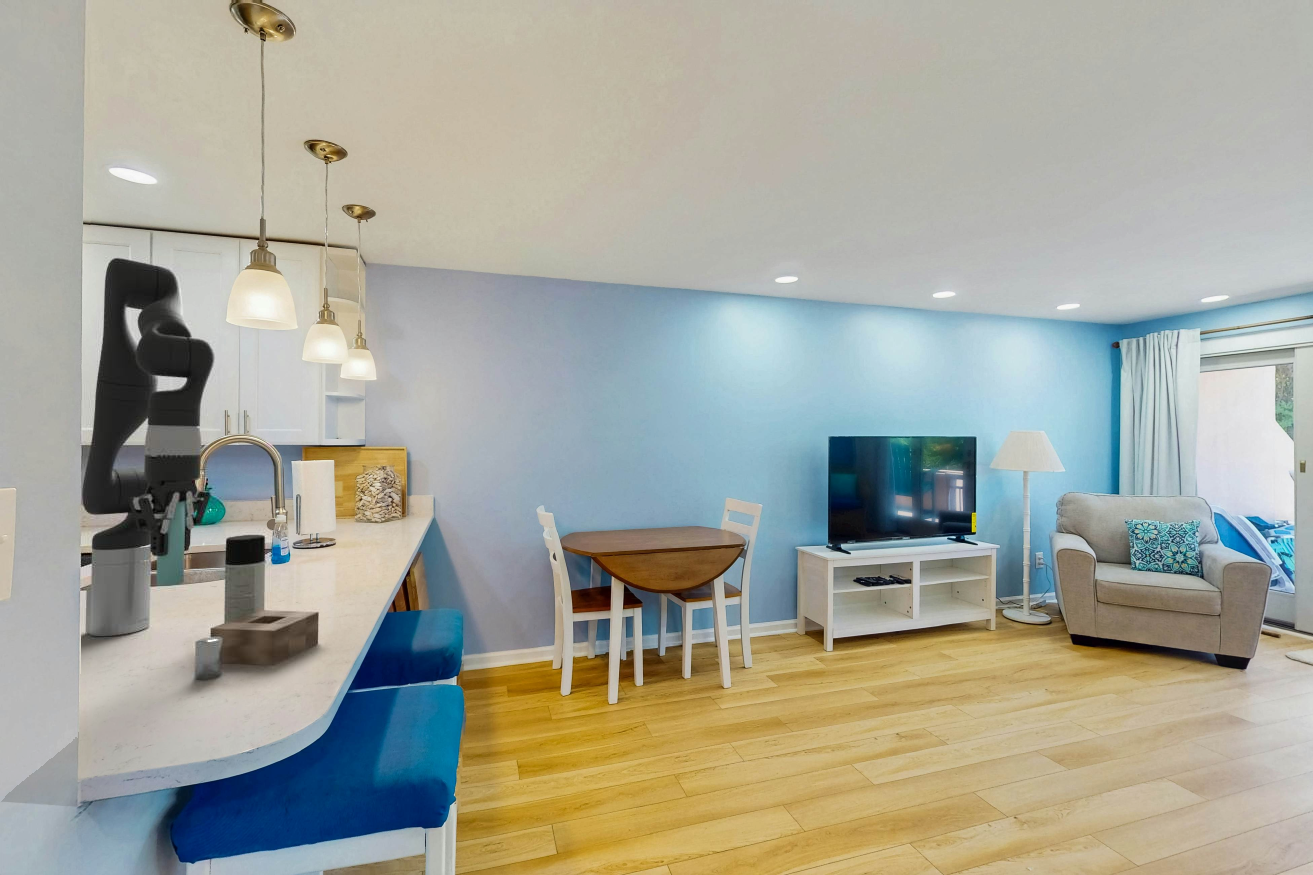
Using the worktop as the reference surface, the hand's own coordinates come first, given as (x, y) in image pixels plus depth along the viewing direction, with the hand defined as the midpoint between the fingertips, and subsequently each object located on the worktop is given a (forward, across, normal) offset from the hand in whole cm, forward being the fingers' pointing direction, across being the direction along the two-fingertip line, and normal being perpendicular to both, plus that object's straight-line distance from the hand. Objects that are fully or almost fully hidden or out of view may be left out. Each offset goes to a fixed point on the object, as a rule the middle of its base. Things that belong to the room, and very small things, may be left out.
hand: (170, 552), depth 104 cm
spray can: (+20, -18, -1) cm, 27 cm away
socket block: (+20, -10, +10) cm, 24 cm away
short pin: (+20, +2, +9) cm, 22 cm away
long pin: (+5, 0, 0) cm, 5 cm away
